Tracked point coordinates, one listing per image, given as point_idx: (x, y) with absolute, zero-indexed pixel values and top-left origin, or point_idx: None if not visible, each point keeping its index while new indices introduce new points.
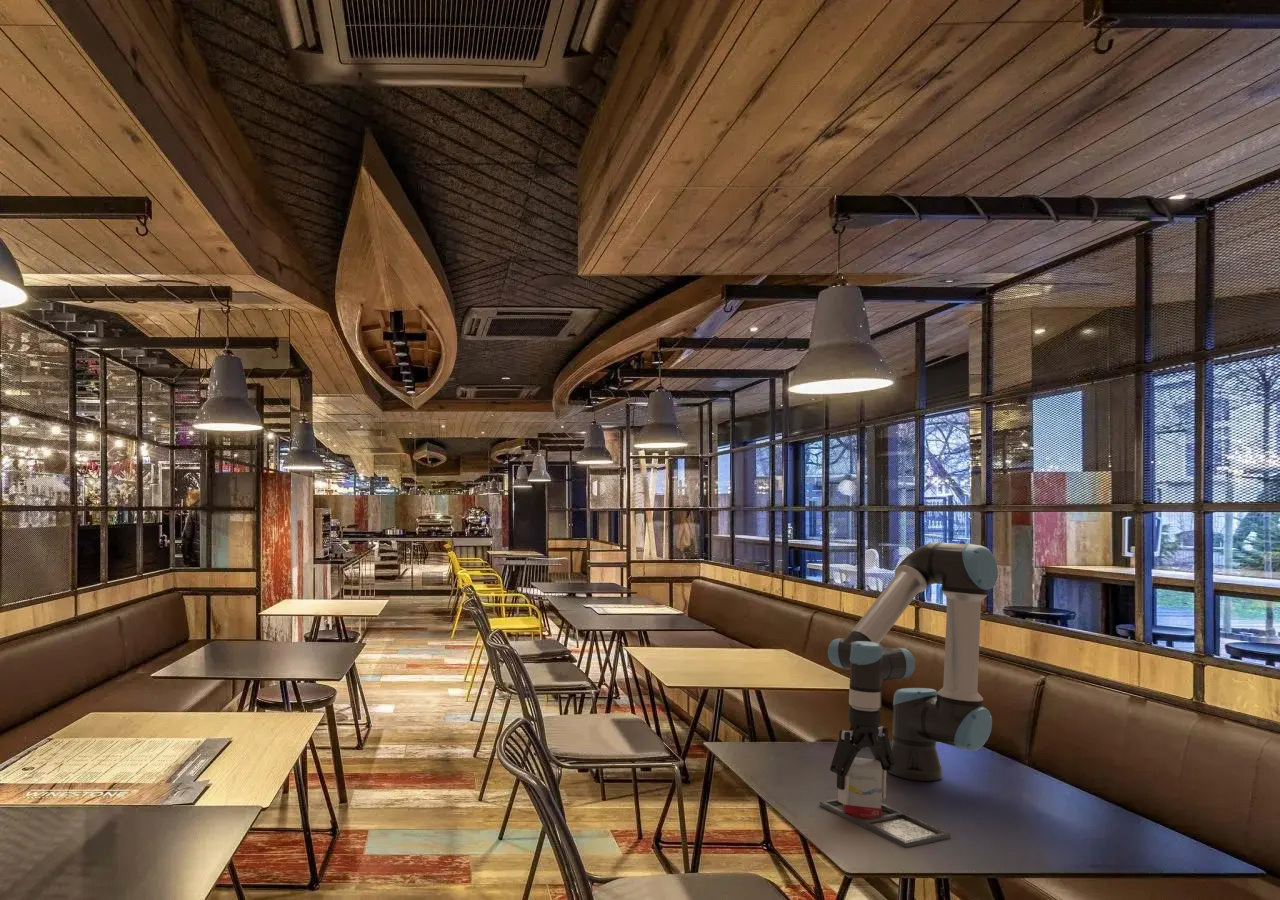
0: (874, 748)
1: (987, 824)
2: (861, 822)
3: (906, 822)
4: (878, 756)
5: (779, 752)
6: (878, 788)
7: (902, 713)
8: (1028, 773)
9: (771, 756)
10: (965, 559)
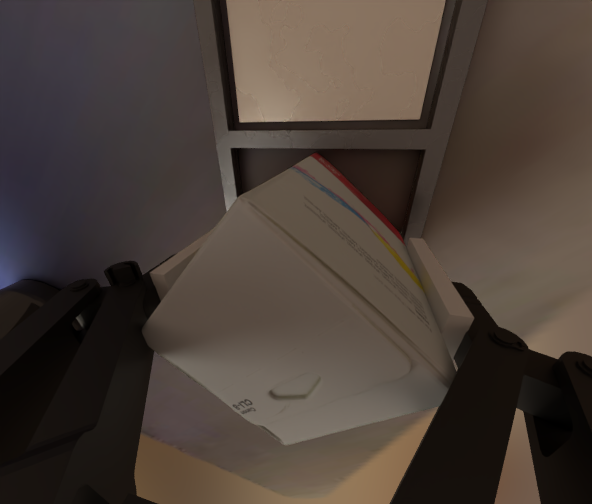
0: (104, 444)
1: None
2: (449, 131)
3: (251, 79)
4: (129, 356)
5: (238, 455)
6: (304, 178)
7: None
8: None
9: (262, 457)
10: None
